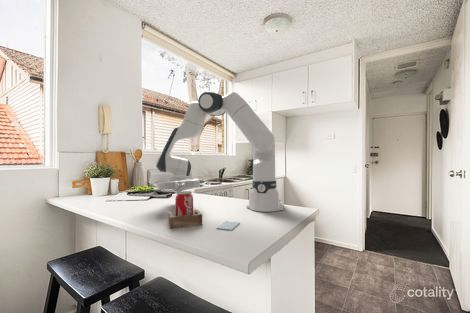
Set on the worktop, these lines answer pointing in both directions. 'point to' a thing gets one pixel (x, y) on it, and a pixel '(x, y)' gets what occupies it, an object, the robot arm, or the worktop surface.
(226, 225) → the slate card
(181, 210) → the soda can
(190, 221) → the can rack
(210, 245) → the worktop surface
